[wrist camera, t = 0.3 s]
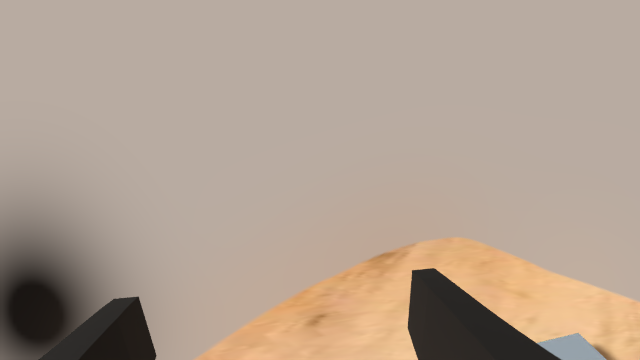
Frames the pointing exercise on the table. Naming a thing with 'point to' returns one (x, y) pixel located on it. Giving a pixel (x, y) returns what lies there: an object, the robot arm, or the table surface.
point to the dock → (572, 348)
